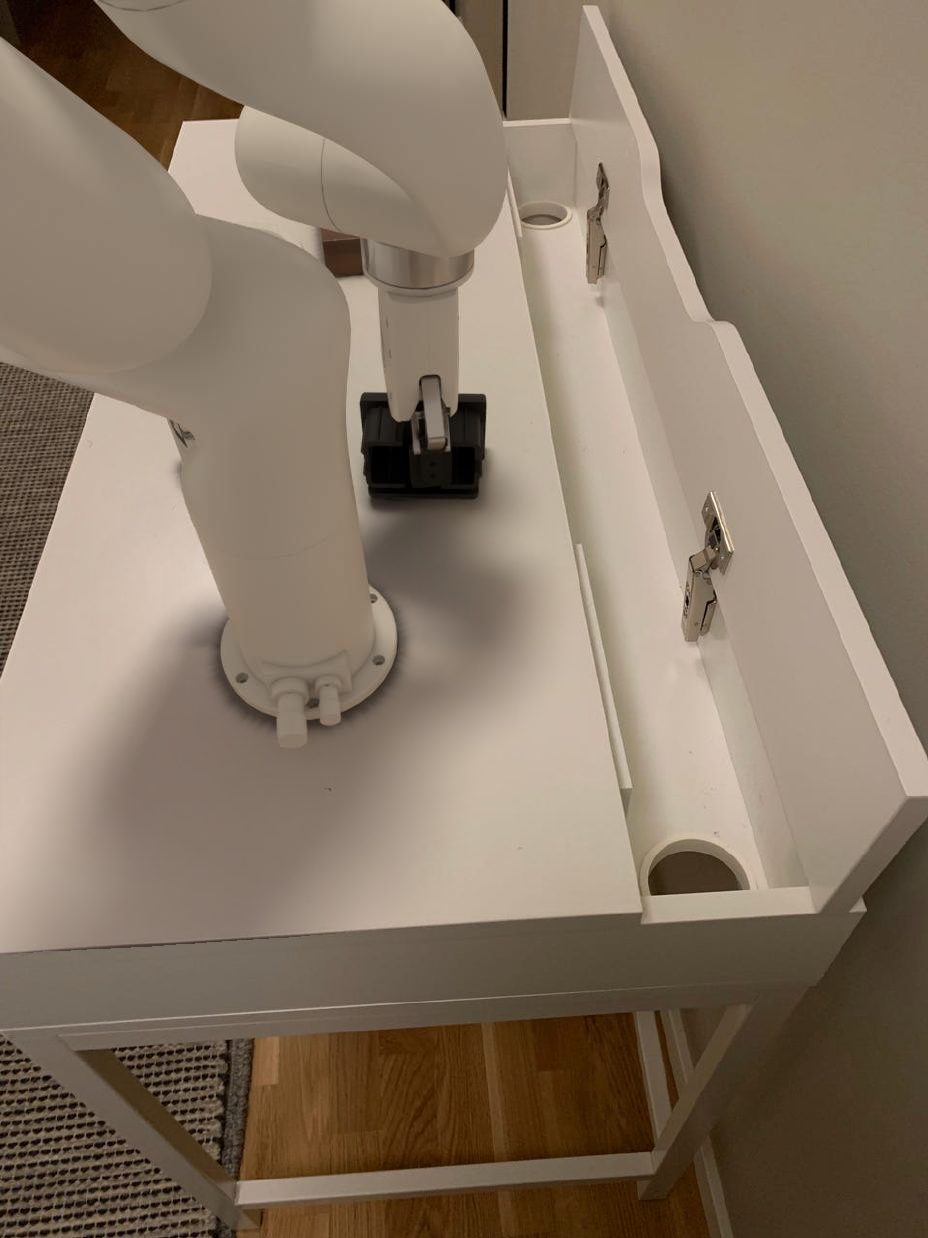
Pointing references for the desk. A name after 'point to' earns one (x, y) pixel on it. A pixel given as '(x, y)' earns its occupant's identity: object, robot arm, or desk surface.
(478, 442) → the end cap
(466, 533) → the desk surface
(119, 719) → the desk surface
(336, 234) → the riser
